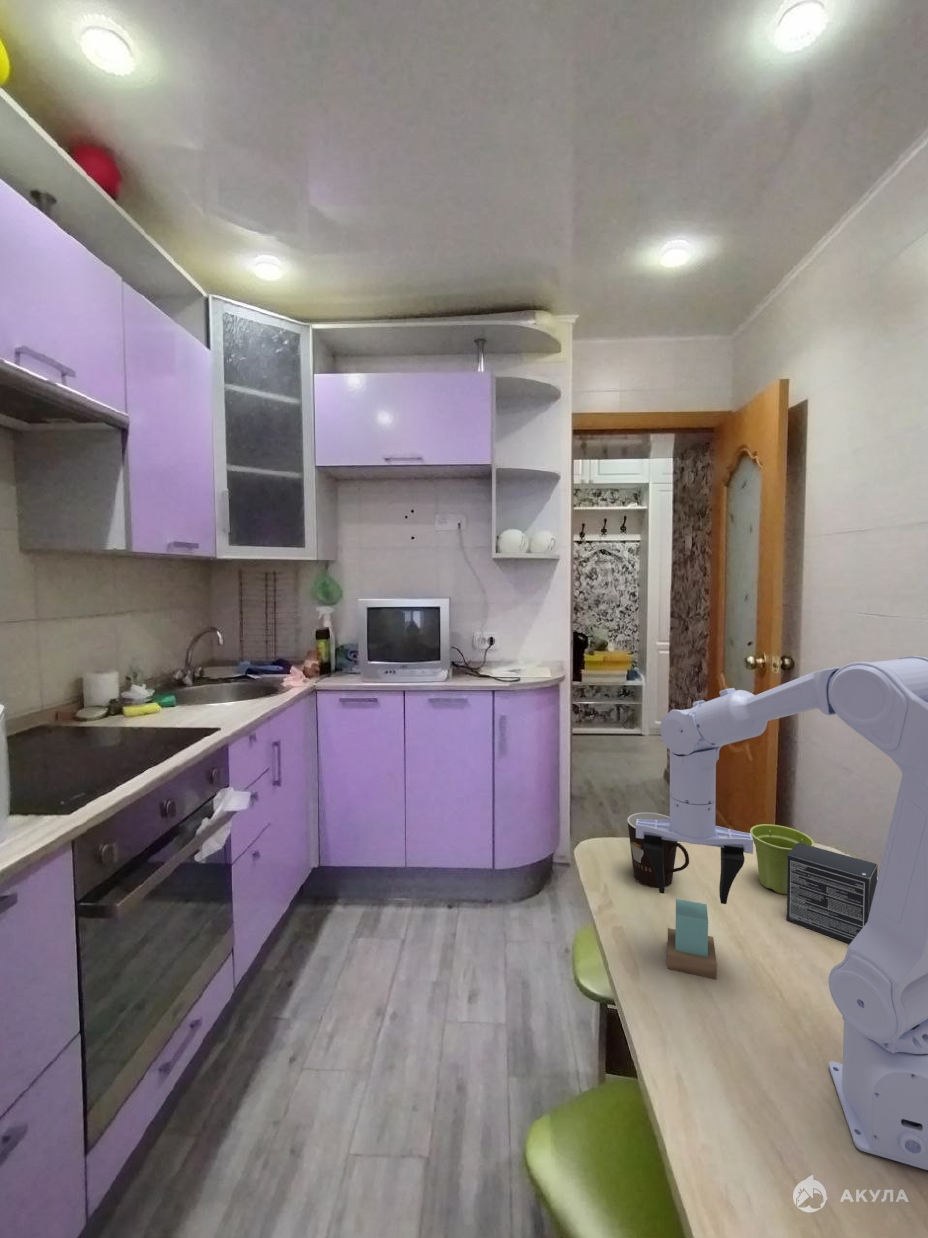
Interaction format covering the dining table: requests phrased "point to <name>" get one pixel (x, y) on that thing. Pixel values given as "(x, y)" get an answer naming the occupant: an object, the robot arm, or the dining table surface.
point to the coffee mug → (640, 858)
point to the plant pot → (775, 853)
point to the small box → (829, 891)
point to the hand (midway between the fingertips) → (691, 894)
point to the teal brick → (691, 927)
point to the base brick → (692, 959)
